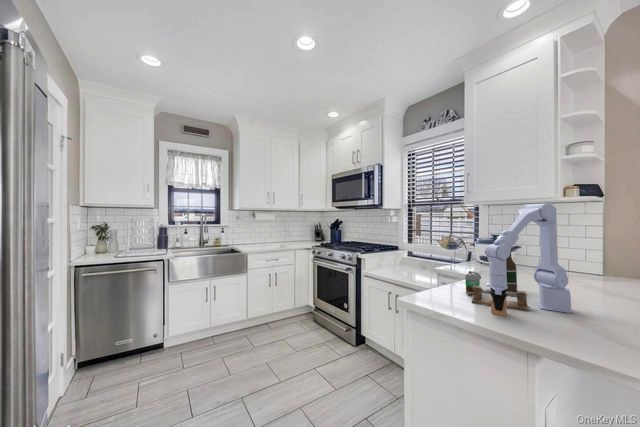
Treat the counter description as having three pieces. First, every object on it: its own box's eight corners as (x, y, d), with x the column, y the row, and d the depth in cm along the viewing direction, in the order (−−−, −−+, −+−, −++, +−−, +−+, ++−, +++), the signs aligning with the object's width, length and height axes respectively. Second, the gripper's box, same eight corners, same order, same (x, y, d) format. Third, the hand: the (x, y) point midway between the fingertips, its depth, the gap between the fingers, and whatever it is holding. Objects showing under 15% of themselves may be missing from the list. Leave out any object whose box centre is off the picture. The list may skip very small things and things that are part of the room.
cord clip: (506, 312, 104) (506, 298, 104) (506, 316, 100) (506, 302, 100) (491, 309, 107) (491, 296, 107) (491, 313, 103) (491, 299, 103)
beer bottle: (502, 292, 130) (500, 244, 130) (496, 288, 137) (495, 243, 138) (520, 293, 128) (518, 244, 128) (513, 289, 135) (512, 243, 135)
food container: (480, 297, 122) (479, 276, 122) (465, 295, 126) (465, 275, 126) (483, 291, 132) (482, 272, 132) (469, 289, 136) (468, 270, 136)
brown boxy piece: (527, 305, 111) (526, 290, 111) (529, 311, 104) (528, 295, 104) (473, 297, 122) (472, 284, 122) (471, 302, 116) (471, 288, 116)
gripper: (486, 269, 112) (487, 301, 112) (485, 276, 100) (486, 311, 100) (506, 271, 108) (507, 304, 108) (507, 278, 96) (508, 315, 96)
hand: (498, 308), depth 103 cm, fingers closed on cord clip, 5 cm apart
